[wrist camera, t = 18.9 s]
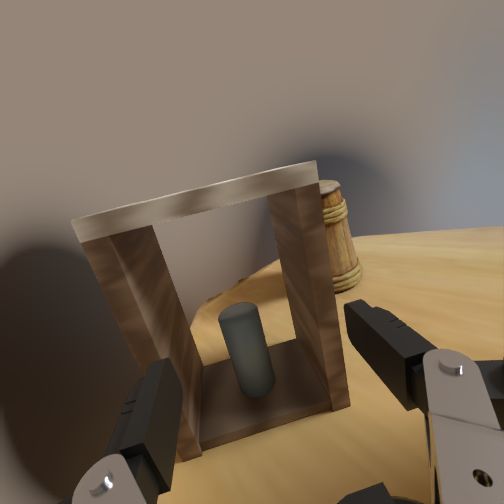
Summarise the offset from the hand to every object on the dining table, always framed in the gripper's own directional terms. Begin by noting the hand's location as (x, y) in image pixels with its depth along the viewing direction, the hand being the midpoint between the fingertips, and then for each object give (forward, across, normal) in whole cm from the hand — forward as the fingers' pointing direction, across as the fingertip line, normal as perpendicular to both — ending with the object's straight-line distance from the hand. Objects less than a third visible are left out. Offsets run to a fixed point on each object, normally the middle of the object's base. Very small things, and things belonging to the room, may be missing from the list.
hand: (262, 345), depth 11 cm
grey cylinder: (+20, +2, +22) cm, 30 cm away
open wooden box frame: (+20, +2, +24) cm, 31 cm away
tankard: (+47, -20, +25) cm, 56 cm away
